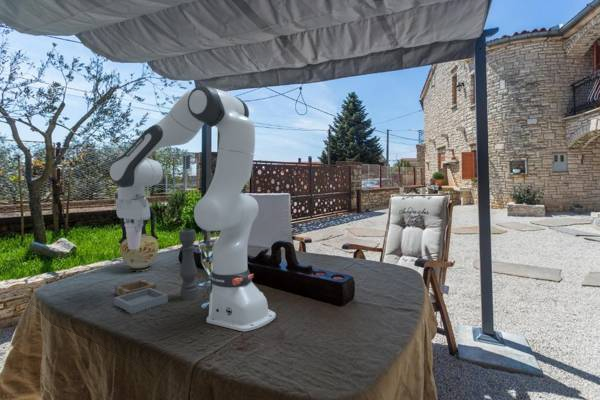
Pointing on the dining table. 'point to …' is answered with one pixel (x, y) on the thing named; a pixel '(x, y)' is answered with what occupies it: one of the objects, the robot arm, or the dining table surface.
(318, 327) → the dining table surface
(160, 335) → the dining table surface
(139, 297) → the tray
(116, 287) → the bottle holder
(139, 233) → the smoothie
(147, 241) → the amphora
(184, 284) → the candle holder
